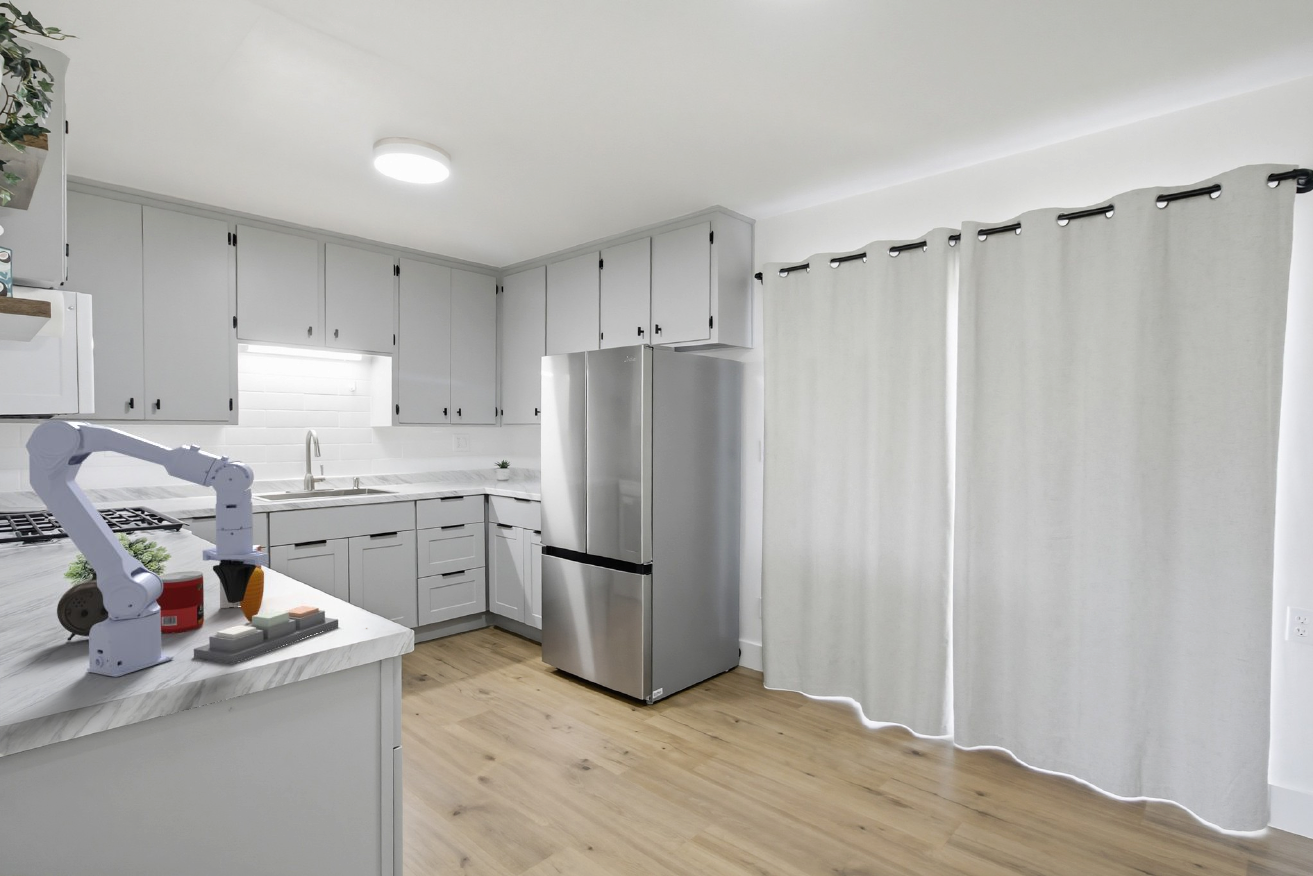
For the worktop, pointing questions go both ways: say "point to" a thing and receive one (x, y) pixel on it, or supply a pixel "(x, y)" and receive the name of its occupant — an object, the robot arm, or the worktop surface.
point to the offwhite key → (236, 632)
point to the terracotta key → (302, 611)
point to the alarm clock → (82, 607)
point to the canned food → (181, 601)
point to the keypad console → (264, 638)
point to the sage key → (270, 618)
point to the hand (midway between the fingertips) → (235, 601)
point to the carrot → (253, 594)
